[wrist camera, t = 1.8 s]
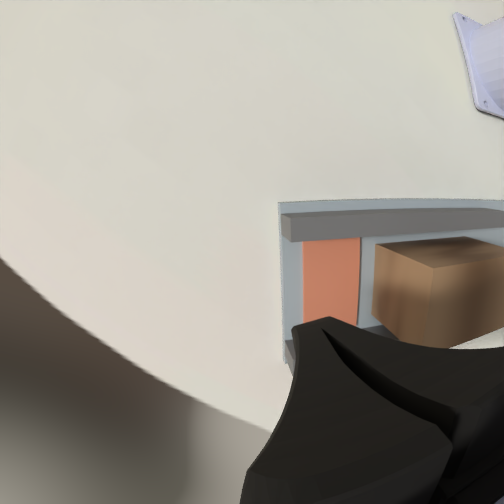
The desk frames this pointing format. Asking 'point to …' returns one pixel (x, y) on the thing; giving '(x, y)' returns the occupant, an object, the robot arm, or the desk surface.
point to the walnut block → (439, 290)
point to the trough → (361, 251)
